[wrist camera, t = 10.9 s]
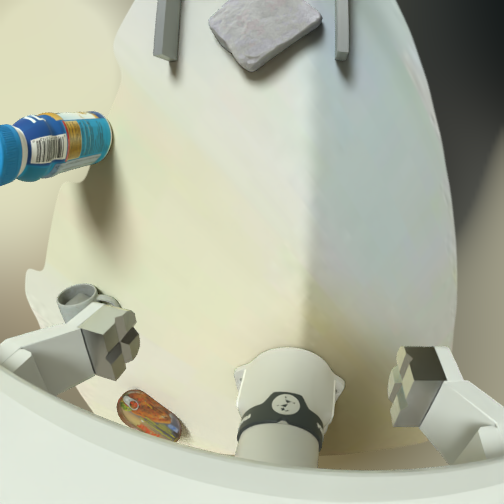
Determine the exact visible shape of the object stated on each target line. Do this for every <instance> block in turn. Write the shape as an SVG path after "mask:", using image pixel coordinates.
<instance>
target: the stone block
mask: <svg viewBox="0 0 504 504" xmlns="http://www.w3.org/2000/svg"><path fill="white" fill-rule="evenodd" d="M208 21H209V26H210V29H211V30H212V32H213V33H214V35H215V37H216V38H217V39H218V41H219V43H220V44H221V46H223V47H224V48H226V49H227V50H228V51H229V52H231V53H232V54H233V56H234V57H235V59H236V60H237V62H238V63H239V64H240V65H241V66H242V67H243V68H245V69H246V70H248V71H250V72H254V71H256V70H257V69H258V68H260V67H261V66H263V65H264V64H265V63H266V62H268V61H269V60H271V59H272V58H273V57H275V56H276V55H277V54H279V53H280V52H282V51H283V50H285V49H286V48H287V47H289V46H290V45H292V44H293V43H295V42H296V41H297V40H299V39H300V38H302V37H303V36H305V35H306V34H308V33H309V32H311V31H313V30H314V29H316V28H317V27H318V26H319V25H320V24H321V21H322V16H321V14H320V13H319V12H318V11H317V10H316V9H315V8H313V7H312V6H311V5H310V4H308V3H307V2H306V1H304V0H228V1H227V2H226V3H225V4H224V5H223V6H222V8H220V9H218V10H217V12H216V13H214V14H213V15H212V16H211V17H210V18H209V20H208Z"/></svg>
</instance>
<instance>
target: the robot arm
mask: <svg viewBox="0 0 504 504" xmlns="http://www.w3.org/2000/svg"><path fill="white" fill-rule="evenodd" d="M135 324H136V318H135V313H134V312H132V311H131V310H128V309H123V308H119V307H115V306H111V305H106V304H103V303H99V302H92V303H91V304H90V305H88V306H87V307H86V308H85V309H83V310H82V311H81V312H80V313H78V314H77V315H76V316H75V317H74V318H72V319H71V320H70V321H69V322H67V323H66V324H64V323H61V324H57V325H54V326H50V327H47V328H44V329H40V330H37V331H33V332H30V333H26V334H23V335H19V336H16V337H12V338H9V339H6V340H5V341H3V342H2V343H1V344H0V504H504V407H503V406H502V405H501V404H499V403H498V402H496V401H495V400H494V399H493V398H491V397H490V396H488V395H487V394H486V393H484V392H483V391H482V390H480V389H479V388H477V387H476V386H475V385H474V384H472V383H471V382H469V381H468V380H466V381H464V380H463V377H462V375H461V373H460V371H459V368H458V366H457V364H456V362H455V360H454V357H453V355H452V353H451V351H450V349H449V348H448V347H447V346H432V347H423V346H401V347H400V348H399V350H398V353H397V356H396V359H397V365H396V366H395V367H394V368H392V370H391V373H390V376H389V382H388V398H389V400H390V401H391V402H392V403H393V405H392V407H391V409H390V411H391V418H392V425H393V427H419V429H420V430H421V431H422V432H423V433H424V435H425V436H426V437H427V438H428V440H429V441H430V442H431V443H432V444H433V446H434V447H435V448H436V449H437V451H438V452H439V453H440V454H441V456H442V457H443V458H444V459H445V460H446V461H447V463H448V464H449V466H441V467H431V468H419V469H404V470H339V469H322V468H318V454H319V452H320V450H321V448H322V442H323V439H324V434H325V433H326V431H327V428H328V424H331V421H332V418H333V416H334V405H335V402H336V401H337V399H338V398H339V396H340V394H341V393H342V391H343V389H344V387H345V382H344V380H343V379H341V378H340V377H339V376H337V375H335V374H334V373H333V372H332V370H331V369H330V367H329V366H328V364H327V363H326V362H325V361H324V360H323V359H322V358H321V357H319V356H318V355H316V354H314V353H312V352H310V351H307V350H304V349H299V348H292V347H282V348H275V349H271V350H268V351H265V352H263V353H261V354H260V355H258V356H257V357H256V358H255V359H253V360H252V361H251V362H250V363H248V364H246V365H242V366H239V367H237V368H236V369H235V371H234V378H235V381H236V385H237V389H238V392H239V393H238V397H237V401H236V407H237V408H238V411H239V414H240V416H241V418H242V420H241V423H240V424H239V428H238V435H237V441H238V446H237V449H236V453H235V456H229V455H224V454H219V453H215V452H211V451H206V450H202V449H198V448H194V447H190V446H187V445H183V444H179V443H176V442H172V441H169V440H166V439H162V438H159V437H156V436H153V435H150V434H147V433H144V432H141V431H138V430H135V429H132V428H129V427H127V426H124V425H121V424H118V423H116V422H113V421H111V420H108V419H106V418H103V417H101V416H98V415H96V414H93V413H91V412H89V411H86V410H84V409H82V408H80V407H77V406H75V405H73V404H71V403H69V402H67V401H64V400H62V399H60V398H58V397H56V395H58V394H60V393H62V392H64V391H66V390H68V389H70V388H72V387H74V386H76V385H78V384H80V383H82V382H84V381H86V380H88V379H90V378H91V377H93V376H95V375H98V376H101V377H104V378H107V379H111V380H114V381H116V380H117V379H118V378H119V377H120V376H121V374H122V373H123V372H124V371H125V369H126V364H125V363H128V362H130V361H132V360H133V359H134V358H135V357H136V355H137V353H138V350H139V347H140V338H139V334H138V332H137V331H136V330H135V328H134V326H135ZM335 389H336V390H335Z"/></svg>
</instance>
